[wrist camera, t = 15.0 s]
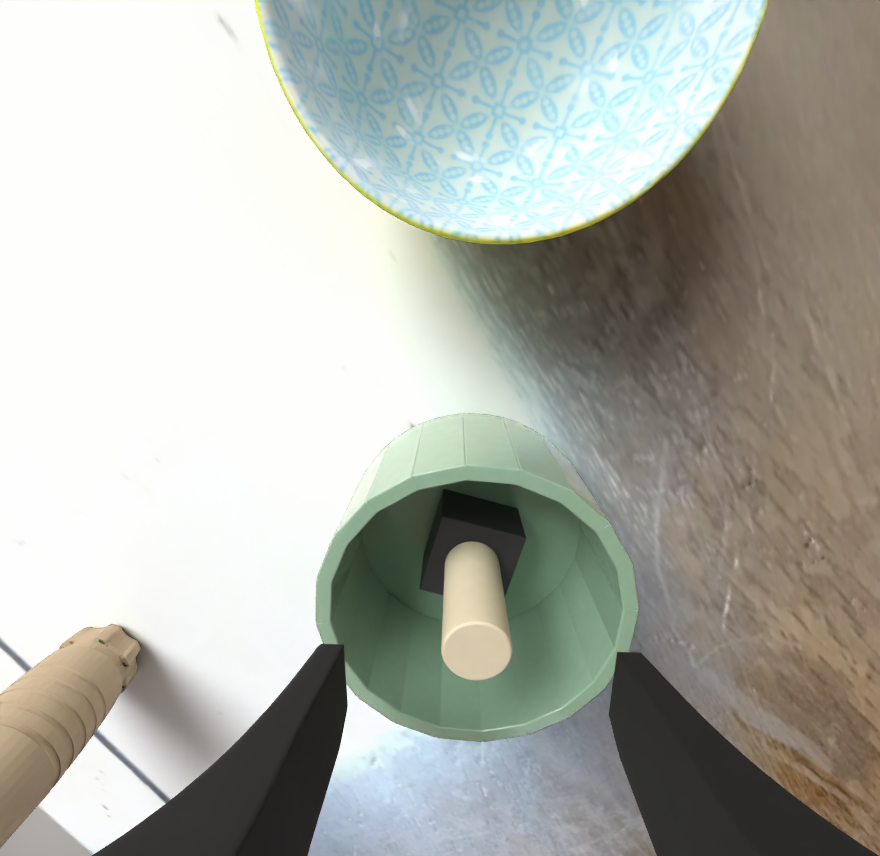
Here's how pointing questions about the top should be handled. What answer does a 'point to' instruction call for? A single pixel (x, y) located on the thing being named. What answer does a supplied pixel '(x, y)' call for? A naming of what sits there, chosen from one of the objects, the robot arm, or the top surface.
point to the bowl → (506, 101)
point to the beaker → (527, 599)
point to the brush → (473, 580)
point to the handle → (57, 715)
